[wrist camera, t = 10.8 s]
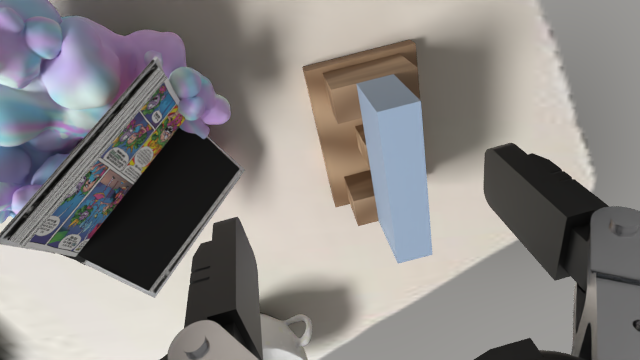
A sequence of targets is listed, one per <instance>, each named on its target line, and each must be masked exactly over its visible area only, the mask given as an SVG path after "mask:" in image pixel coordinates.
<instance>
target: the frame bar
mask: <svg viewBox="0 0 640 360" xmlns="http://www.w3.org/2000/svg"><path fill="white" fill-rule="evenodd" d="M356 84H357V90H358V96H359V103H360V109H361V115H362V121H363V127H364V133H365V140H366V146H367V152H368V158H369V164H370V170H371V176H372V183H373V189H374V195H375V201H376V207H377V213H378V220H379V223H380V225H381V227H382V229H383V231H384V234H385V236H386V238H387V240H388V243H389V245H390V247H391V249H392V251H393V254H394V256H395V258H396V260H397V262H398V263H402V262H406V261H410V260H413V259H417V258H421V257H425V256H429V255H432V243H431V230H430V216H429V203H428V189H427V176H426V163H425V149H424V136H423V122H422V109H421V101H420V100H419V99H418V98H417V97H416V96H415V95H414V94H413V93H412V92H411V91H410V90H409V89H408V88H407V87H406V86H405V85H404V84H403V83H402V82H401V81H400V80H399V79H398V78H397V77H396V76H395V75H394V74H392V75H388V76H384V77H380V78H376V79H372V80H368V81H364V82H360V83H356Z"/></svg>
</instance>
